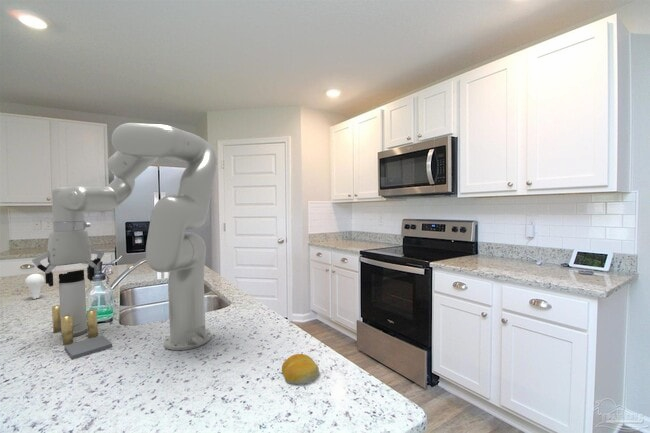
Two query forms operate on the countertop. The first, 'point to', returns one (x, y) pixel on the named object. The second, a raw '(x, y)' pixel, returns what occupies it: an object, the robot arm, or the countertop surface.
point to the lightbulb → (35, 284)
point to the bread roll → (299, 369)
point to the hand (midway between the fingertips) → (71, 282)
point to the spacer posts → (67, 324)
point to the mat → (87, 347)
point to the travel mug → (73, 300)
